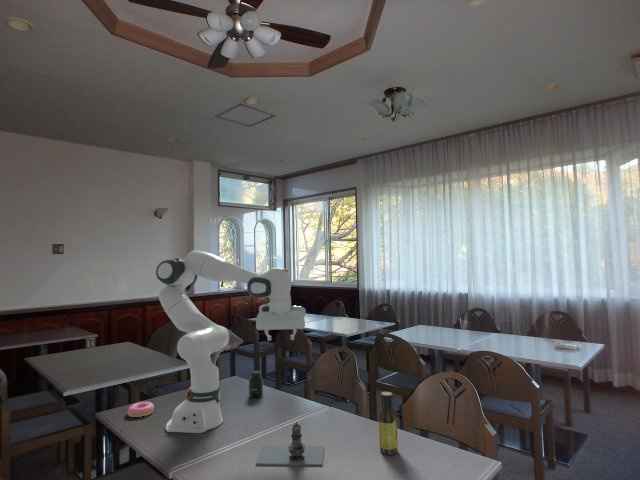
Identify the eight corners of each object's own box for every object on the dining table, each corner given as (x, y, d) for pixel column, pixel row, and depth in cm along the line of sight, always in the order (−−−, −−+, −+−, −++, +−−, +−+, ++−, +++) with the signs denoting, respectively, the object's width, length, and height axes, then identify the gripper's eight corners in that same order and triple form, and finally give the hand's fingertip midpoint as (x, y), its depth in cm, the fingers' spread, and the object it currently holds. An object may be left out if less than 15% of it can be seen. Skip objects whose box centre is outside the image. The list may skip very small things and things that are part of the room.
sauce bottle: (400, 454, 134) (399, 395, 135) (383, 457, 133) (382, 397, 134) (393, 445, 141) (391, 389, 141) (376, 447, 139) (375, 391, 140)
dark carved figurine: (291, 452, 136) (291, 417, 137) (307, 454, 134) (307, 419, 135) (285, 460, 131) (284, 424, 131) (302, 463, 129) (301, 426, 129)
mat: (255, 465, 129) (255, 463, 129) (263, 447, 141) (263, 445, 141) (322, 466, 128) (322, 464, 128) (324, 447, 140) (324, 446, 140)
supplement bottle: (251, 400, 187) (251, 374, 187) (247, 395, 193) (246, 371, 193) (265, 397, 190) (264, 372, 190) (260, 393, 196) (260, 368, 196)
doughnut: (136, 421, 166) (136, 411, 166) (122, 415, 172) (122, 406, 172) (159, 412, 175) (159, 402, 175) (144, 407, 181) (144, 398, 181)
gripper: (305, 304, 166) (305, 337, 165) (256, 306, 164) (257, 339, 164) (305, 306, 159) (306, 341, 159) (255, 308, 158) (255, 342, 158)
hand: (280, 340), depth 161 cm, fingers open, 8 cm apart
